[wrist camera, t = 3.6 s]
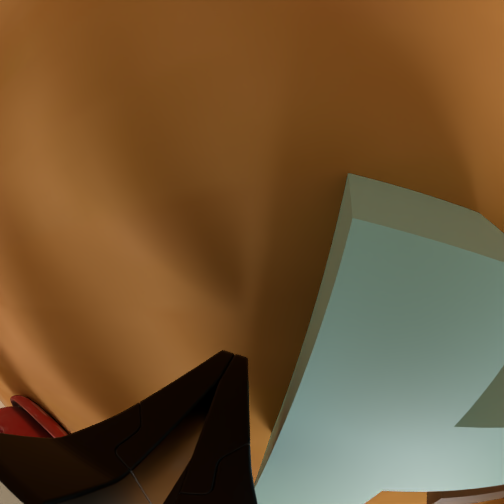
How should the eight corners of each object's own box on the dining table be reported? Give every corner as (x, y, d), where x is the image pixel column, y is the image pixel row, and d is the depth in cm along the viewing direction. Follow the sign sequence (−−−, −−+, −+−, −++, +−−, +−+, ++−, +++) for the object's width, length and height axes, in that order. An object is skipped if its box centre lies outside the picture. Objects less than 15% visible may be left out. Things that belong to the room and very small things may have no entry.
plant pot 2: (33, 386, 22) (-35, 458, 12) (110, 467, 26) (62, 537, 15) (3, 379, 27) (-48, 430, 17) (62, 447, 31) (21, 498, 20)
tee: (473, 456, 10) (478, 514, 7) (271, 432, 13) (247, 502, 9) (606, 272, 5) (655, 326, 2) (348, 173, 8) (353, 218, 4)
